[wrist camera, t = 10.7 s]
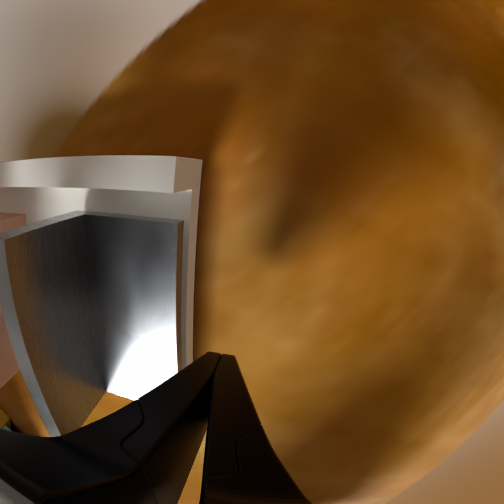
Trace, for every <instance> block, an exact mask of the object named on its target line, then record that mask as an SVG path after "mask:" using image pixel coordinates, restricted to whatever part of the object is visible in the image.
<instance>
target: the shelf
mask: <svg viewBox="0 0 504 504" xmlns="http://www.w3.org/2000/svg"><path fill="white" fill-rule="evenodd" d="M202 161H203V160H200V159H193V158H186V157H178V156H150V155H100V156H71V157H53V158H39V159H28V160H17V161H8V162H1V163H0V212H2V213H17V214H26V225H27V224H30V223H34V222H37V221H41V220H44V219H48V218H51V217H55V216H58V215H62V214H66V213H69V212H73V211H77V210H79V211H91V212H103V213H114V214H125V215H135V216H146V217H156V218H166V219H175V220H184V230H183V252H182V285H181V353H182V369H183V368H185V367H186V366H188V365H189V364H191V363H192V362H193V308H194V278H195V256H196V238H197V222H198V208H199V195H200V183H201V172H202Z"/></svg>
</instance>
